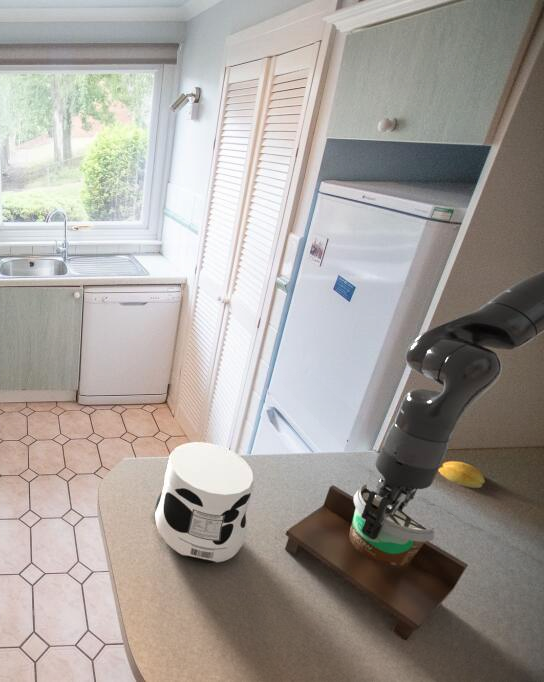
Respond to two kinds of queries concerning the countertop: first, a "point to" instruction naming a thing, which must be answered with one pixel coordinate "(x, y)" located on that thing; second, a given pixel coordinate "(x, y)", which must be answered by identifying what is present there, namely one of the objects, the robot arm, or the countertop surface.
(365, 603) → the countertop surface
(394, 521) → the food container
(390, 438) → the robot arm
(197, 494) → the milk container
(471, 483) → the yellow ridged fruit
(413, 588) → the shelf
